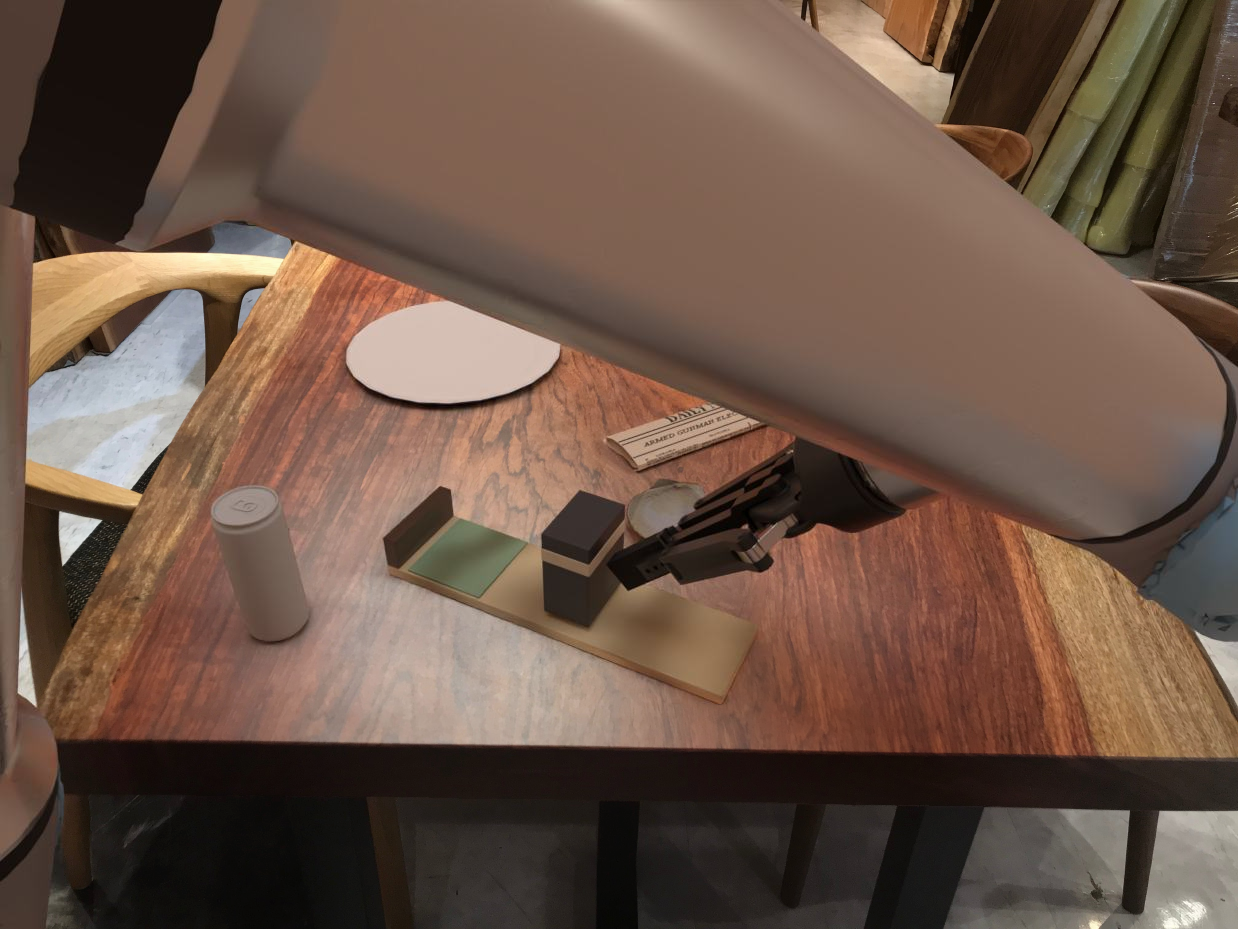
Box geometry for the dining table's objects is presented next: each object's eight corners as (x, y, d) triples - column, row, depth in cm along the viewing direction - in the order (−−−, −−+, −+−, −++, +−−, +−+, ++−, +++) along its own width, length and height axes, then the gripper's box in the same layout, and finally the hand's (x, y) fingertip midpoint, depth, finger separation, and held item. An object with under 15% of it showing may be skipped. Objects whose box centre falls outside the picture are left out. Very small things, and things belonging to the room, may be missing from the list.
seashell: (624, 558, 80) (709, 563, 77) (615, 534, 78) (702, 540, 75) (649, 493, 86) (730, 496, 83) (642, 470, 84) (724, 472, 81)
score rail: (757, 633, 71) (763, 596, 69) (721, 705, 65) (726, 668, 63) (444, 520, 81) (440, 485, 79) (388, 573, 75) (382, 537, 73)
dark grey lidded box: (623, 580, 73) (626, 504, 69) (589, 629, 69) (589, 551, 64) (579, 564, 75) (579, 489, 70) (542, 611, 70) (539, 533, 65)
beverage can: (286, 652, 68) (251, 532, 61) (233, 636, 69) (193, 517, 62) (322, 609, 72) (294, 492, 65) (271, 595, 73) (238, 478, 66)
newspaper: (637, 475, 88) (638, 461, 87) (600, 440, 93) (600, 426, 92) (816, 410, 98) (819, 396, 97) (774, 381, 103) (776, 368, 102)
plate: (495, 291, 120) (495, 282, 119) (602, 369, 104) (602, 359, 103) (314, 339, 108) (312, 330, 107) (402, 436, 92) (401, 426, 91)
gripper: (893, 568, 49) (613, 666, 64) (937, 447, 58) (684, 558, 74) (813, 462, 47) (547, 588, 63) (871, 356, 57) (628, 488, 72)
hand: (621, 571), depth 68 cm, fingers closed
